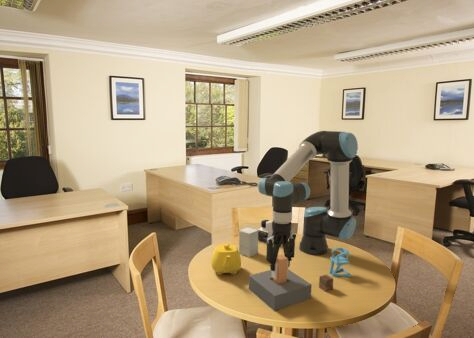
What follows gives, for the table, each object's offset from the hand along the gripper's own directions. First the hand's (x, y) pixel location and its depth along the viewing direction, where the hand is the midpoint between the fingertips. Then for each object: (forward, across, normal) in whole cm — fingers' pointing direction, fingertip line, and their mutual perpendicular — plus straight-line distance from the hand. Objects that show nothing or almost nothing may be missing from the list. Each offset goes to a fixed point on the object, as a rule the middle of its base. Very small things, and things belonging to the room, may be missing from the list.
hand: (279, 276), depth 139 cm
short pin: (+8, -20, +6) cm, 22 cm away
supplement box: (+8, -10, -40) cm, 42 cm away
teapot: (+8, +10, -27) cm, 30 cm away
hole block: (+8, 0, 0) cm, 8 cm away
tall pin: (+8, 0, 0) cm, 8 cm away
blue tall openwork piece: (+8, -35, -1) cm, 36 cm away
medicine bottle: (+8, -28, -50) cm, 58 cm away
